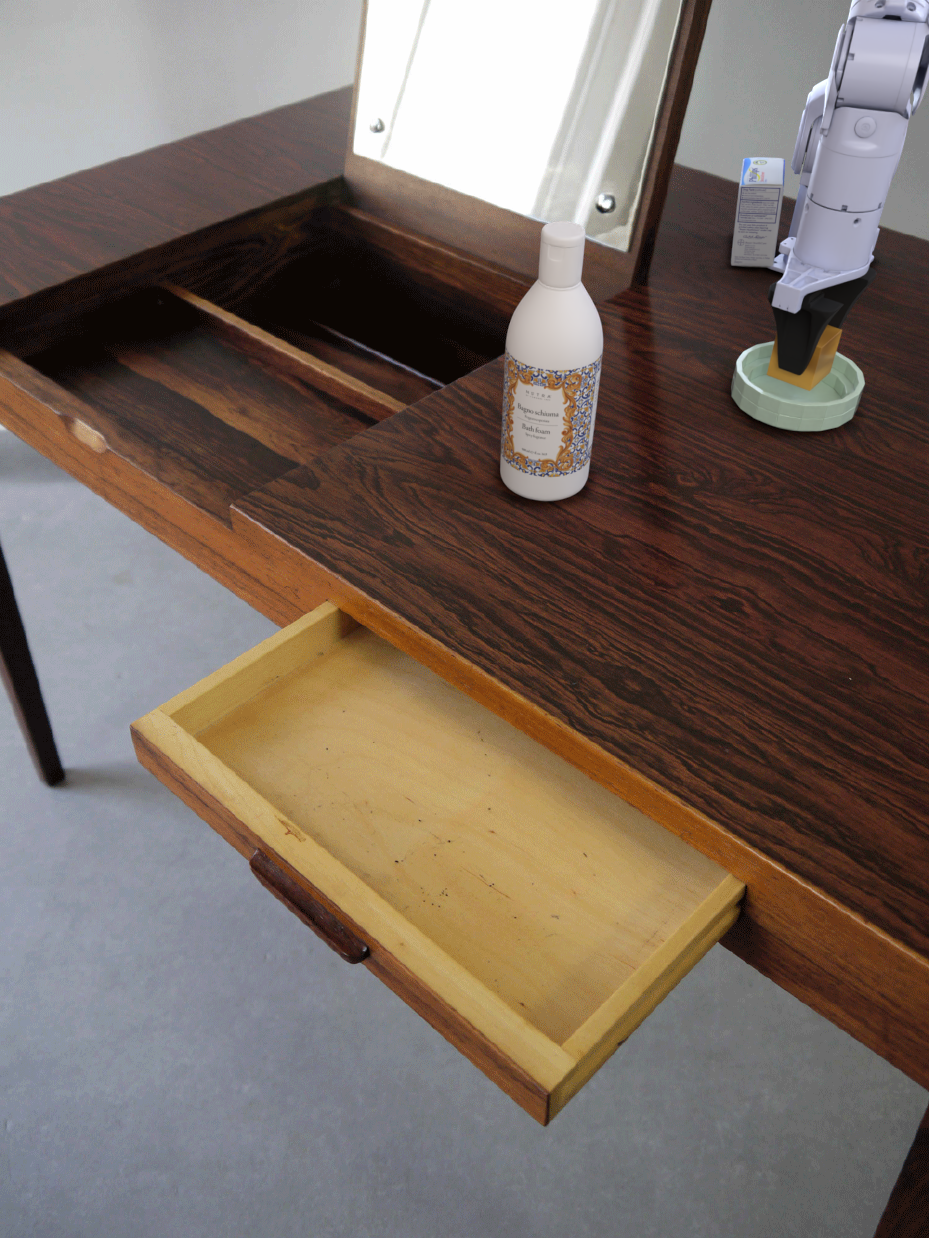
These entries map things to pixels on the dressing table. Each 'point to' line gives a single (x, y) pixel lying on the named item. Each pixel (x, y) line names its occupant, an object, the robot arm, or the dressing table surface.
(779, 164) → the medicine box
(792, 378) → the block
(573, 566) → the dressing table surface
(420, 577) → the dressing table surface
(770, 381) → the bowl
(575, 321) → the bath foam
